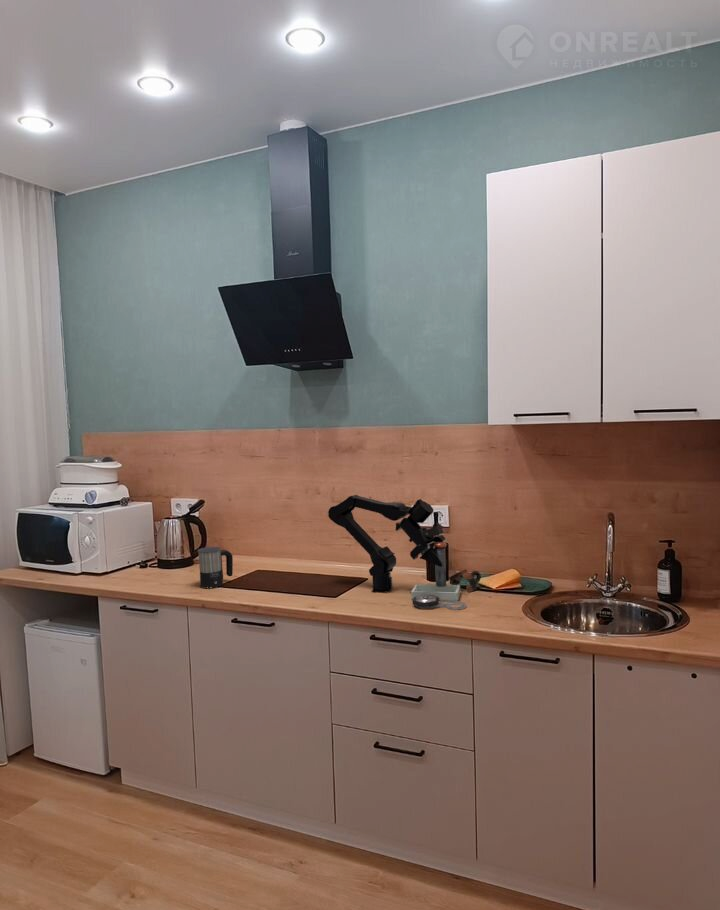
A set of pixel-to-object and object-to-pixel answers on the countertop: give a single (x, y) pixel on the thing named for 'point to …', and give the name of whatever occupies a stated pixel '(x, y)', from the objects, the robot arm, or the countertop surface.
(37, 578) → the countertop surface
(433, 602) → the tensioner
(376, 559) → the robot arm
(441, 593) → the tray
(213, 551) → the milk frother
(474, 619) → the countertop surface
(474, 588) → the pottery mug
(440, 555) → the pin
